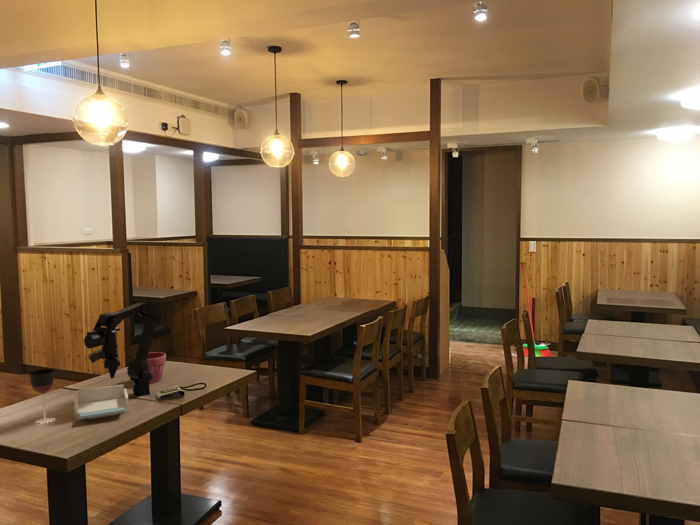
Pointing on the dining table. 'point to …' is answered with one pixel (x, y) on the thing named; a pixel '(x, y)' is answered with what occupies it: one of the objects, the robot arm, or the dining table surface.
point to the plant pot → (156, 365)
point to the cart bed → (101, 399)
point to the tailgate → (102, 413)
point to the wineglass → (42, 387)
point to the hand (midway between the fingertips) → (112, 378)
